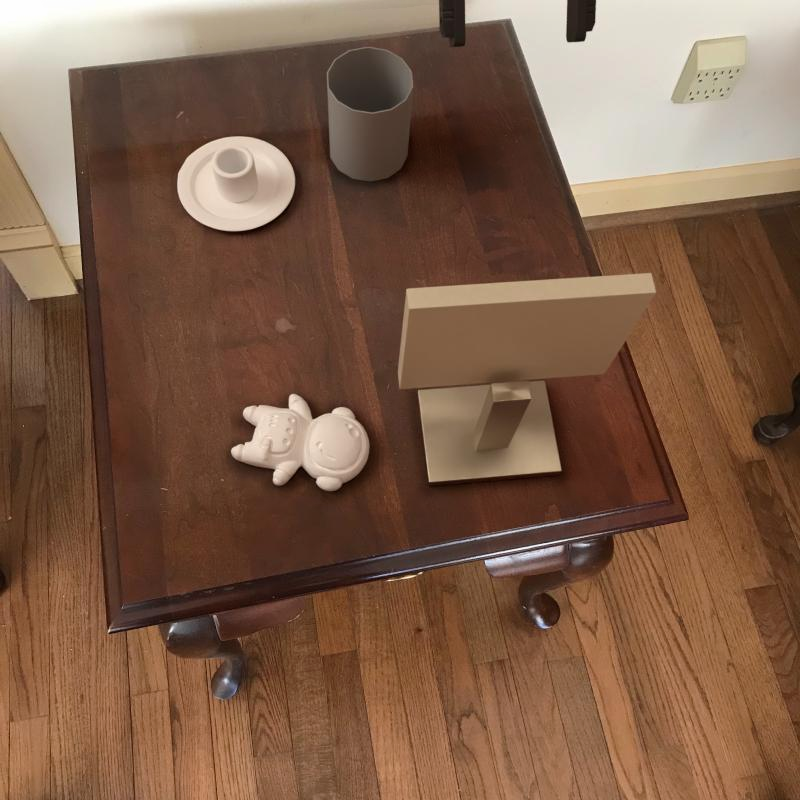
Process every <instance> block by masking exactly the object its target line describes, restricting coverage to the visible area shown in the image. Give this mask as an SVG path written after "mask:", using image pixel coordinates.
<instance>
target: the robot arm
mask: <svg viewBox="0 0 800 800" xmlns="http://www.w3.org/2000/svg"><path fill="white" fill-rule="evenodd" d="M596 12H597V0H566V25H565V26H566V27H565V30H566V31H565V38H566V43H582V42H585V41H586V38H587V33H588V32H593V30H594V27H595V24H596V17H597V16H596V15H597V14H596ZM438 17H439V18H438V20H439V24H438V25H439V31H440V34H441V37H442V38H443V39H444V38H448V43H449V48H461V47H465V45H466V0H438Z"/></svg>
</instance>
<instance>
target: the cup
mask: <svg viewBox="0 0 800 800" xmlns="http://www.w3.org/2000/svg"><path fill="white" fill-rule="evenodd" d="M326 86H327V112H328V113H327V114H328V135H329V136H328V139H329V157H330V160H331V161H332V163H333V164H334V166H335V167H336V169H337V170H338V171H339V172H341V173H343V174H344V175H346V176H348V177H349V178H350V179H352V180H357V181H364V182H368V183H369V182H370V183H371V182H376V181H380V180H385V179H389V178H390V177H391V176H393V175H394V174H396V173H397V172H398V171H400V170H401V169H402V168H403V165H404V163H405V162H406V160H407V158H408V153H409V142H410V131H411V119H412V107H413V94H414V79H413V71H412V70H411V68H410V67H409V65H408V64H407V62H406V61H405V60H404V59H403V58H402V57H400V56H399V55H397V54H395V53H394V52H392V51H390V50H388V49H385V48H379V47H372V46H363V47H359V48H354V49H349V50H347V51H345V52H344V53H342V54H341V55H338V57H336V58H334V60H333V61H332V63H331V65H330V67H328V70H327V72H326Z"/></svg>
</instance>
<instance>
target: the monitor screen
mask: <svg viewBox="0 0 800 800" xmlns="http://www.w3.org/2000/svg"><path fill="white" fill-rule="evenodd" d="M655 295H657V289H656V285H655V282H654V278H653V275H652V273H651V272H645V273H644V272H642V273H629V274H627V273H626V274H615V275H611V274H610V275H599V276H598V275H597V276H582V277H581V276H580V277H566V278H552V279H538V280H537V279H536V280H535V279H534V280H519V281H518V280H517V281H504V282H503V281H502V282H489V283H472V284H458V285H440V286H425V287H409V288H406V290H405V300H404V309H403V317H402V318H403V319H402V328H401V335H400V337H401V338H400V347H399V355H398V356H399V357H398V364H397V365H398V366H397V378H398V379H397V380H398V387H399V388H398V389H399V390H409V389H425V388H435V387H437V388H438V387H450V386H451V387H452V386H465V385H477V384H478V385H479V384H491V383H502V382H516V381H531V380H542V379H557V378H570V377H571V378H572V377H582V376H583V377H585V376H596V375H597V376H598V375H605V374H606V373H607V371H608V370H609V368H610V366H611V365H612V363H613V361H614V360H615V359H616V357H617V355H618V353H619V352H620V350H621V349H622V347H623V346H624V344H625V343H626V342H627V339H628V338H629V336H630V335H631V333H632V332H633V330H634V329H635V327H636V326H637V324H638V322H639V321H640V320H641V317H642V316H643V315H644V313H645V311H646V309H647V308H648V306H649V305H650V303H651V302H652V300H653V298H654V297H655Z"/></svg>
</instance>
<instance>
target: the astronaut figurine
mask: <svg viewBox="0 0 800 800" xmlns="http://www.w3.org/2000/svg"><path fill="white" fill-rule="evenodd" d="M242 416H243V418H244V419H245V421H247V422H248V423H250V424H251V425H253V426H254V427H255V429H254V431H253V434H252V439H251V441H246V442H244V444H243V443H240V444H239V443H238V444H237V445H235V446H233V447H232V448H231V450H230V454H231V456H232V457H233V458H234V459H235V460H236V461H238V462H240V463H241V462H242V463H244V464H247V465H250V466H254V467H258V468H264V469H270V470H271V469H272V470H274V472H273V474H272V477H273V478H272V483H273V484H274V485H275V486H284V485H286V484H287V483H288V482H289V480H290V479H291V478H292V477H293V476H294V475H295V474H296V472H297V471H298V469H299V468H300V467H301V468H303V469H304V471H305V472H306V473H307V474H308V475H309V476H310V477H312V478H313V479H316V481H315V484H316V485H317V486H318V488H320V490H323V491H326V492H334V491H337V490H339V489H340V488H341V487H342V486H343V484H345V483H347V482H350V481H351V480H352V479H354V478H356V477H357V476H358V475H359V474H360V473H361V471H362V470H363V469H364V467H365V466H366V464H367V462H368V459H369V454H370V440H369V437H368V433H367V431H366V429H365V427H364V426H363V425H362V424H361V423H360V422H359V421H358V419H356V416H355V414H354V412H353V411H352V410H351V408H348V407H345V406H340V407H336V408H334V409H333V410H332V411H331V413H330V412H328V413H324V414H322V415H319V416H318V417H316V418H314V419H313V416H312V411H311V409H310V407H309V405H308V402H307V401H306V400H304V398H303V397H302V396H300V395H298V394H297V393H291V394H290V395H289V397H288V408H283V407H276V406H272V405H265V404H259V405H258V406H257V405H250V406H246V407H244V409H243V411H242Z"/></svg>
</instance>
